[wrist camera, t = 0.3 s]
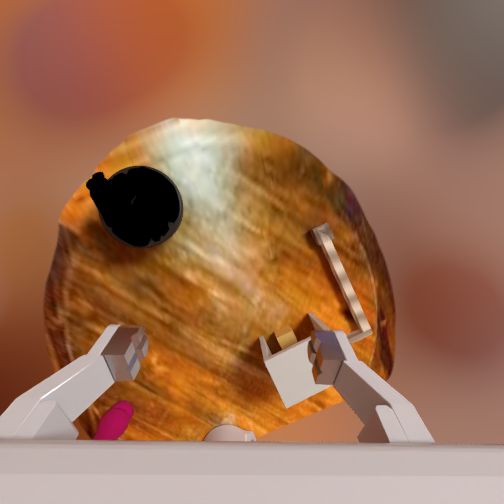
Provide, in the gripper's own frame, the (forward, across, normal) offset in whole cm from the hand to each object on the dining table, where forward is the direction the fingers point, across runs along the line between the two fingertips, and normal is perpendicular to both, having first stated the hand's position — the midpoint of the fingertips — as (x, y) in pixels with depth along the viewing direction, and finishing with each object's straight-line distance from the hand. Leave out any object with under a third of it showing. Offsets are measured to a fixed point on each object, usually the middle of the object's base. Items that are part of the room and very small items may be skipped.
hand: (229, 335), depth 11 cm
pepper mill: (+26, -33, -65) cm, 77 cm away
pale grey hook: (+45, +27, -31) cm, 61 cm away
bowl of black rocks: (+53, -25, -13) cm, 61 cm away
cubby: (+36, +16, -46) cm, 61 cm away
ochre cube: (+38, +14, -44) cm, 60 cm away
